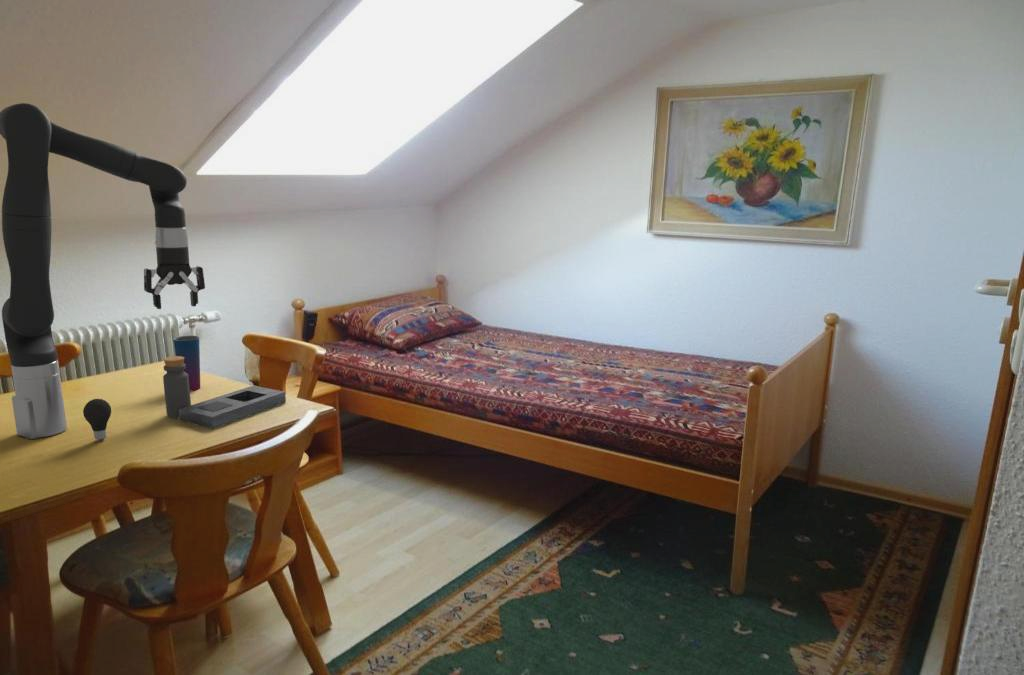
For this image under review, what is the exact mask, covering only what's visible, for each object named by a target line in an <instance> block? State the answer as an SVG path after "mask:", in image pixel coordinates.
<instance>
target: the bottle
mask: <svg viewBox="0 0 1024 675" xmlns="http://www.w3.org/2000/svg"><path fill="white" fill-rule="evenodd" d="M163 361H164V366H163V371H164V372H166V373H165V374H164V375H163V376H162V380H163V390H164V391H163V392H164V401H165V411H166V417H167V418H169V419H180V417H179V409H181V408H184V407H188V406H191V405H192V400H191V391H190V388H189V378H188V374H187V373H186V372H184V369H185V368H186V364H184V357H181V356H176V355H175V356H169V357H168V356H167V357H165V358H164V359H163Z"/></svg>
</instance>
